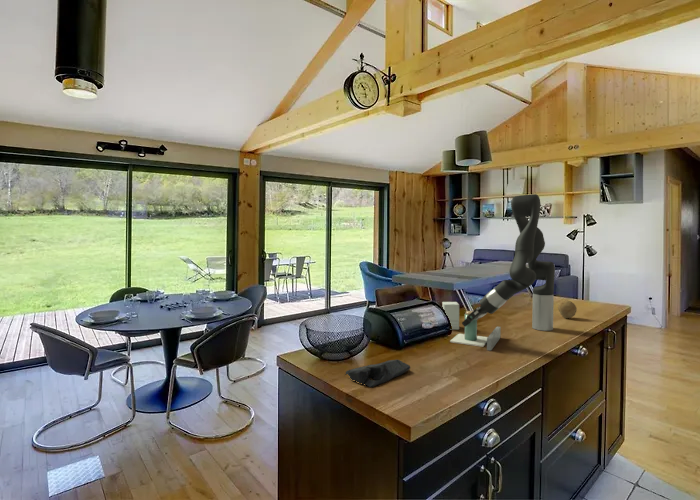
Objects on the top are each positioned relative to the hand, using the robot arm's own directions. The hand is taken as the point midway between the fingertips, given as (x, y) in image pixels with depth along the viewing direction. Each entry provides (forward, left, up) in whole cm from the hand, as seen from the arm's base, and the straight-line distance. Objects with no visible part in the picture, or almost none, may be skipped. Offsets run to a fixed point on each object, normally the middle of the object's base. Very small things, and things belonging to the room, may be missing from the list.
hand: (467, 323), depth 172 cm
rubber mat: (0, +1, -8) cm, 8 cm away
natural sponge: (-69, +37, -8) cm, 79 cm away
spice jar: (0, +1, -7) cm, 7 cm away
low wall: (0, +11, -8) cm, 14 cm away
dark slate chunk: (+56, -16, -8) cm, 59 cm away
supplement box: (-18, -13, -8) cm, 23 cm away
